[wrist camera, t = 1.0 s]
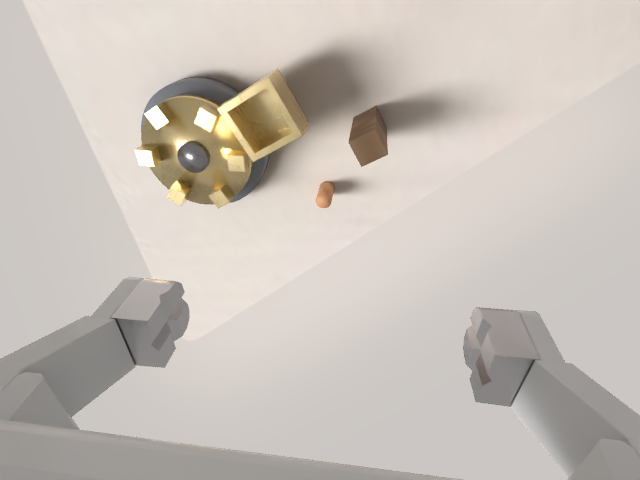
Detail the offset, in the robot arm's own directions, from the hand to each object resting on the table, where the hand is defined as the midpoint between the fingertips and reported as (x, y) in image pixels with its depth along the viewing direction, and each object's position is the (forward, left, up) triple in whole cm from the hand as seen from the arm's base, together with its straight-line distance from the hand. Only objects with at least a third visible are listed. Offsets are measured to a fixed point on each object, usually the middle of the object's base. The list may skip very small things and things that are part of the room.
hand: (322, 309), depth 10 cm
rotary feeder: (+14, -2, -27) cm, 30 cm away
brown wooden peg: (+1, +3, -29) cm, 29 cm away
